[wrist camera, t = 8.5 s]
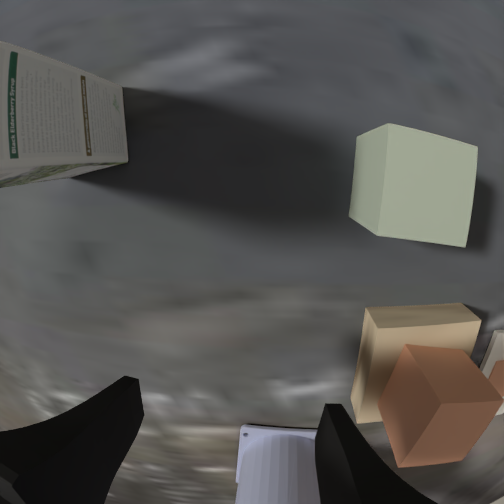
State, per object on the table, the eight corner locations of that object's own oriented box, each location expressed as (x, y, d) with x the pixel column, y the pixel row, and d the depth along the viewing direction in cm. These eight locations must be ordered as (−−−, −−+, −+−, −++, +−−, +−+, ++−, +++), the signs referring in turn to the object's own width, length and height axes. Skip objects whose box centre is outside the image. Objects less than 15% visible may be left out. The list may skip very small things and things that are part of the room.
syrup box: (124, 83, 18) (-47, 16, 4) (132, 165, 19) (-64, 180, 5) (61, 107, 18) (-102, 87, 4) (67, 182, 20) (-106, 215, 6)
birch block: (435, 385, 22) (450, 409, 19) (349, 394, 23) (357, 423, 19) (458, 300, 20) (481, 320, 17) (364, 305, 21) (377, 328, 17)
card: (500, 410, 22) (503, 414, 21) (453, 419, 22) (456, 424, 22) (539, 327, 19) (543, 331, 19) (494, 329, 20) (499, 334, 19)
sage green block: (418, 226, 19) (465, 247, 13) (348, 216, 19) (376, 235, 13) (427, 151, 17) (477, 147, 12) (356, 136, 18) (388, 123, 12)
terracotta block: (433, 405, 18) (461, 460, 13) (376, 404, 19) (398, 467, 13) (462, 349, 17) (504, 400, 11) (404, 343, 17) (441, 403, 12)
